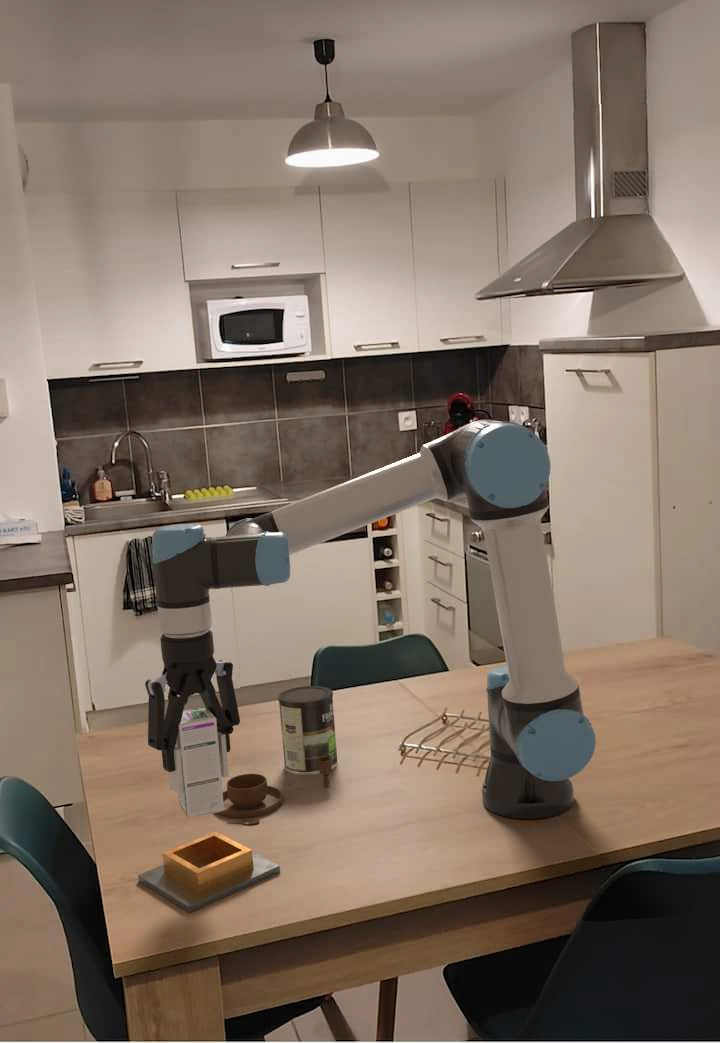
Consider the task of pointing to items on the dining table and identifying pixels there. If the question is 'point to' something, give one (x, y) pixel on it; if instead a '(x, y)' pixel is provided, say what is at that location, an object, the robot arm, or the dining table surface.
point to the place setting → (259, 793)
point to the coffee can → (307, 728)
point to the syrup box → (200, 763)
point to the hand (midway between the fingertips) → (199, 782)
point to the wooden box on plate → (206, 871)
